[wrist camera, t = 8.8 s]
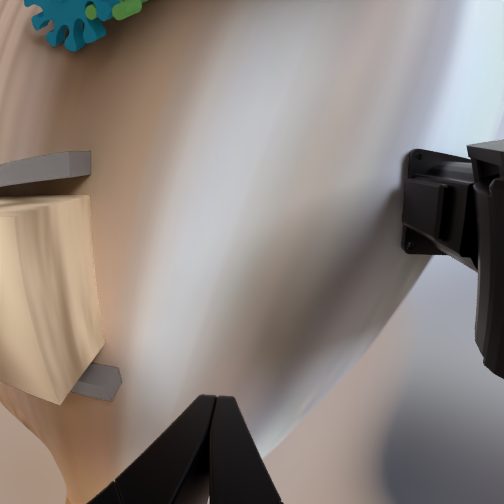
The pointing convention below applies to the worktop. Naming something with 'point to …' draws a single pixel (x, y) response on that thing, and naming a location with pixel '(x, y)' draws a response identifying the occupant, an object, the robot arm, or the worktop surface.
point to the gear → (80, 18)
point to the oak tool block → (47, 294)
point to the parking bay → (56, 167)
